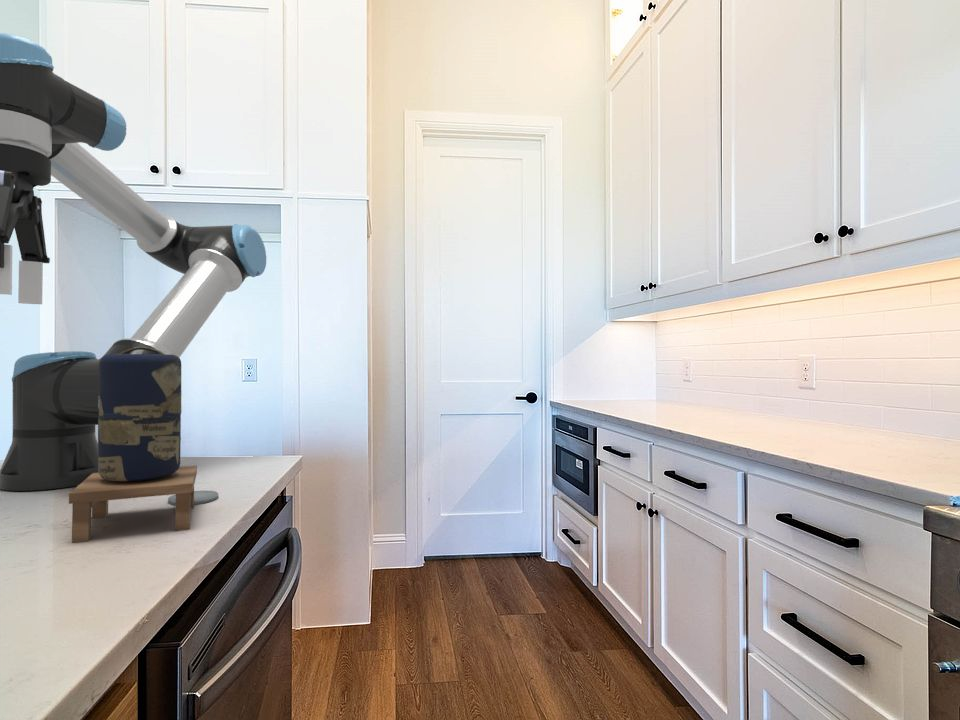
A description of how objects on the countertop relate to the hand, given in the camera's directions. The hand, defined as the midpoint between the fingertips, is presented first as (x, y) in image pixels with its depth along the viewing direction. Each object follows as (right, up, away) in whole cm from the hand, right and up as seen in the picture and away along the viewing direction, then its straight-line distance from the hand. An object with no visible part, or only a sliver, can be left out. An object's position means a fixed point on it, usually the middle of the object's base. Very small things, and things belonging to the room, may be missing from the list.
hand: (15, 299), depth 74 cm
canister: (+20, -25, -3) cm, 32 cm away
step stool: (+20, -31, -3) cm, 37 cm away
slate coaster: (+21, -31, +8) cm, 38 cm away
